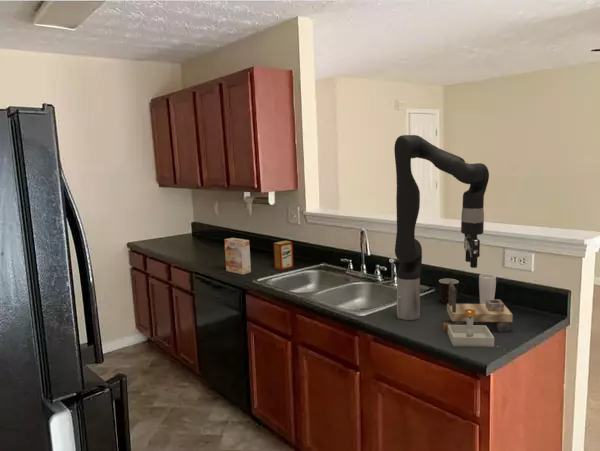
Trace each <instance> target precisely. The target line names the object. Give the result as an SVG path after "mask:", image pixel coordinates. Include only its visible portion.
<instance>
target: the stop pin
mask: <svg viewBox="0 0 600 451" xmlns="http://www.w3.org/2000/svg"><path fill="white" fill-rule="evenodd" d="M465 315H466V316H467V321H465V324H466V337H473V325H474V322H473V320H474V316H475V310H472V309H466V310H465Z"/></svg>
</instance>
